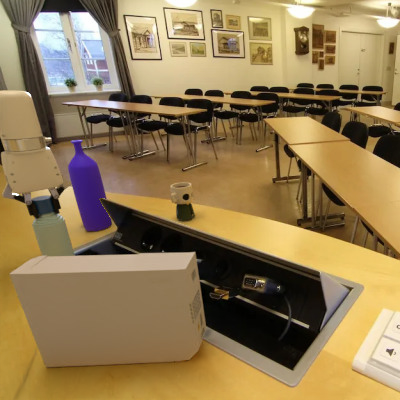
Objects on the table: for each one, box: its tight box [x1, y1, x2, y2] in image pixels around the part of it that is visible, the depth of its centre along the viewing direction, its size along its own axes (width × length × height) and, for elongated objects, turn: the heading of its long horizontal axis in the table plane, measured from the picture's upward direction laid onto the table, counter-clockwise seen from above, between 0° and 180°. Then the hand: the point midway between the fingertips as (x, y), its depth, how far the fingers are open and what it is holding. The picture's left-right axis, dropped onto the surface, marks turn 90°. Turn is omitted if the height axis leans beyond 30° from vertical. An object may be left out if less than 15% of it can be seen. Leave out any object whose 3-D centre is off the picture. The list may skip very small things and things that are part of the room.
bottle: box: [67, 139, 112, 232], centre depth 106 cm, size 8×8×30 cm
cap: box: [31, 195, 55, 214], centre depth 82 cm, size 4×4×4 cm
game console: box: [9, 251, 207, 368], centre depth 58 cm, size 6×27×20 cm, turn 94°
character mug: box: [169, 181, 196, 221], centre depth 117 cm, size 11×7×13 cm, turn 163°
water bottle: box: [31, 211, 76, 256], centre depth 85 cm, size 7×7×19 cm
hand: (46, 214), depth 83 cm, fingers closed on cap, 3 cm apart
